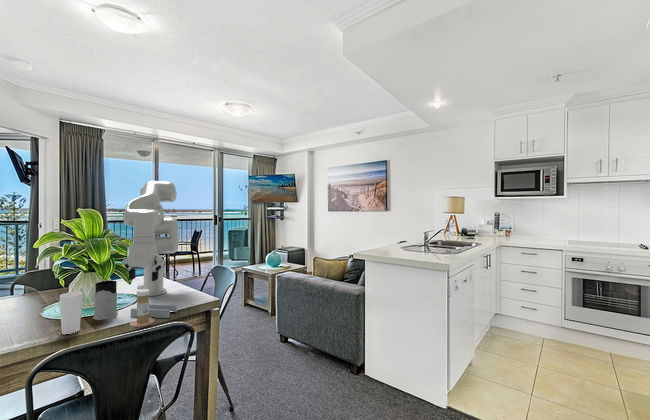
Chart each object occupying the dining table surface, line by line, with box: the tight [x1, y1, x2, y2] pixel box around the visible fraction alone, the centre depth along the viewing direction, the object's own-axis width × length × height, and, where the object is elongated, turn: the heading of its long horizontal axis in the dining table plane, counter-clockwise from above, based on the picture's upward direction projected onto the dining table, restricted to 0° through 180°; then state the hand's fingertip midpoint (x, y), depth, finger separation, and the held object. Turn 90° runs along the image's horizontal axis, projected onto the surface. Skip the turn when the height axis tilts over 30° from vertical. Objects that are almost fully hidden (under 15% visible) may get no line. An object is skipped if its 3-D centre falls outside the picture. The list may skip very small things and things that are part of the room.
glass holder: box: [92, 280, 119, 321], centre depth 131 cm, size 9×14×15 cm, turn 20°
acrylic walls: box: [130, 303, 178, 319], centre depth 132 cm, size 17×7×4 cm, turn 89°
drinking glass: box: [58, 291, 84, 336], centre depth 112 cm, size 7×7×15 cm
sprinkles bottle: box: [136, 289, 150, 323], centre depth 123 cm, size 5×5×13 cm
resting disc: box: [129, 317, 156, 328], centre depth 123 cm, size 9×9×1 cm
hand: (143, 279), depth 123 cm, fingers open, 9 cm apart
